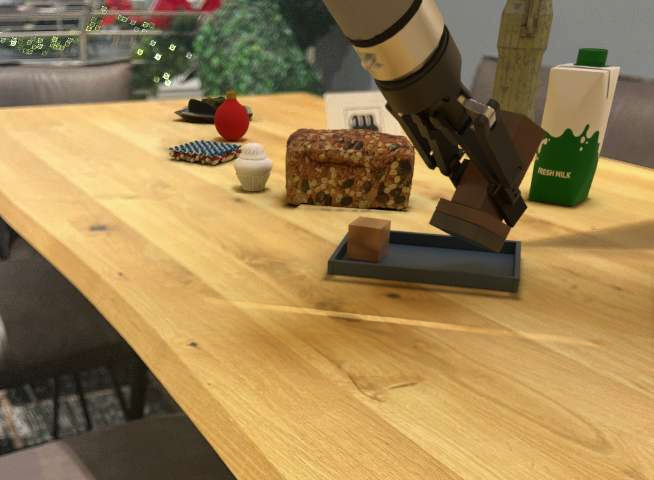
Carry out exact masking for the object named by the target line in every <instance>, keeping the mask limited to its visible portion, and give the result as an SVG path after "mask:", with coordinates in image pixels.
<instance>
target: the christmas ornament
mask: <svg viewBox="0 0 654 480" xmlns="http://www.w3.org/2000/svg"><path fill="white" fill-rule="evenodd" d="M230 86H232V87H233V91H228V89H229V87H230ZM225 96H226V97H225V99H226V101H225V102H224V103H223V104H222V105H220V106H219V108H218V109H217V111H216V113H215V117H214V124H213V125H214V127H215V130H216V132H217V133H218V135H219V136H220V137H221V138H222V139H224V140H225V139H226V140H227V141H237V140H240V139H241V138H243V137H244V136H245V135H246V134H247V132H248V130H249V128H250V119H249V115H248V112H247V110H246V109H245V108H244V106H242V105H243V104H241V103H240V102H239V101H238V99H237V92H236V88H235V86H234V84H229V85H228V86H227V87H226V92H225Z"/></svg>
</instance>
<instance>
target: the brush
mask: <svg viewBox="0 0 654 480" xmlns="http://www.w3.org/2000/svg"><path fill="white" fill-rule="evenodd" d="M500 110H501V109H500ZM501 118H502V120H503V122H504V124H505V126H506V128H507V130H508V132H509V134H510V137H511V139H512V141H513V143H514V145H515V147H516V149H517V151H518V153H519V155H520V157H521V159H522V161H523V164H524V166H525V169H524V170H523V171H522V173H521V174H520V176H519V177H518V178H517V180H516V181H515V182H516V184H517V186H518V188H519V189H520V187H521V184H522V183H523V180H524V178H525V176H526V174H527V172H528V170H529V169H530V166H531V164H532V162H533V160H534V159H535V156H536V152H537V150H538V148H539V146H540V144H541V142H542V140H543V138H544V135H545V133H546V131H545V130H544V129H543V128H541V125H539V124H538V123H536V122H535V120H534V121H533V120H531V119H530V118H529V117H528V116H526V115H525V114H520V113H516V112H511V111H506V110H501ZM488 185H489V183H488V182H487V181H486V179H485V178H484V177H483V175H482V174H481V173H480V172H479V170H478V169H477V168H476V166H475V165H474V164H473V163H472V161H471V160H470V159H469V162H468V164H467V167H466V169H465V171H464V173H463V175H462V177H461V180H460V182H459V184H458V186H457V188H455V190H454V193H453V195H452V197H451V199H446V198H444V197H439V200H438V202H437V205H436V206H435V209H434V211H433V213H432V216H431V217H430V220H429V222H428V225H431V226H432V227H434V228H436V229H438V230H439V231H442V232H444V233H445V234H446V235H451V236H453V237H455V238H458V239H460V240H463V241H466V242H468V243H471V244H473V245H476V246H479V247H481V248H484V249H486V250H489V251H492V252H494V253H497V254H499V252H500V250H501V248H502V246H503V244H504V242H505V240H507V238H508V236H509V234H510V232H511V230H512V228H511V227H510V226H508V225H507V224H506V223H505V222H503V221H504V219H503V217H502V216H501V214H500V212H499V210H498V209H497V207H496V205H495V203H494V202H493V200H492V198H491V196H490V195H489V194H488V193H487V192H486V191H487V189H486V188H487V187H488Z"/></svg>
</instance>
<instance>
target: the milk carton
mask: <svg viewBox="0 0 654 480" xmlns="http://www.w3.org/2000/svg"><path fill="white" fill-rule="evenodd" d="M608 55H609V49H606V48H596V47H594V48H593V47H583V48H581V47H580V48H578V52H577V55H576V56H577V57H576V62H575V63H564V64H557V65H556V66H554V67H550V69H549V77H548V83H547V92H546V99H545V103H544V109H543V112H542V113H543V114H542V119H541V124H540V127H541V128H543V129H544V130H545V131H546V133H545V135H544V138H543V140H542V142H541V144H540V146H539V148H538V150H537V152H536V154H535V156H534V163H533V169H532V172H531V173H532V174H531V180H530V186H529V192H528V198H527V199H528V200H531V201H536V202H542V203H548V204H554V205H560V206H567V207H574V206H576V205H578V204H579V203H581V202H582V201H584V200H585V199H588V197H589V194H590V190H591V187H592V185H593V181H594V178H595V175H596V172H597V167H598V164H599V159H600V156H601V152H602V147H603V144H604V139H605V134H606V131H607V126H608V121H609V118H610V113H611V109H612V104H613V100H614V96H615V91H616V87H617V84H618V79H619V75H620V70H621V66H612V65H608V64H606V63H607V59H608Z"/></svg>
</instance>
